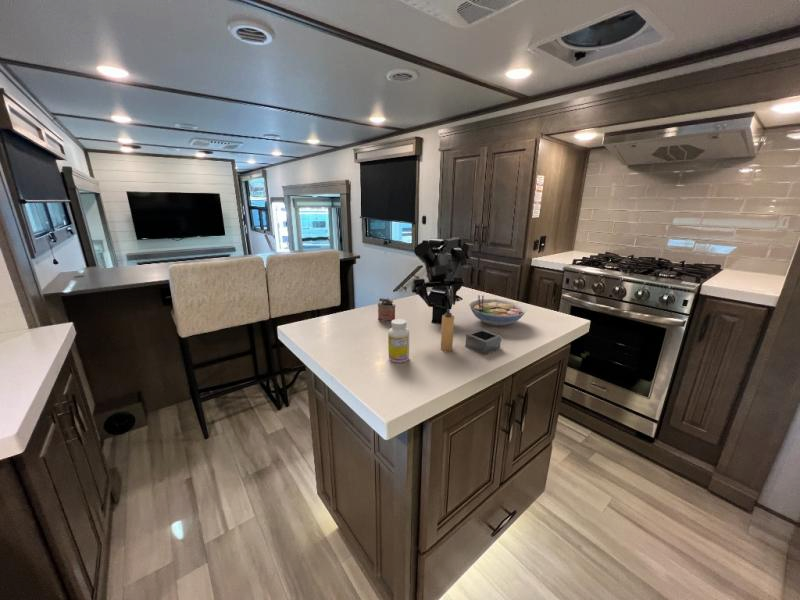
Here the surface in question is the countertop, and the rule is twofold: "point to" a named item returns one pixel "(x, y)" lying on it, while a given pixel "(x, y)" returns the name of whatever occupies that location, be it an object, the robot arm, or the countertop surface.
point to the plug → (447, 331)
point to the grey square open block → (483, 341)
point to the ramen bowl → (497, 311)
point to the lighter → (386, 310)
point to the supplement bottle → (398, 341)
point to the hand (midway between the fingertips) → (442, 305)
